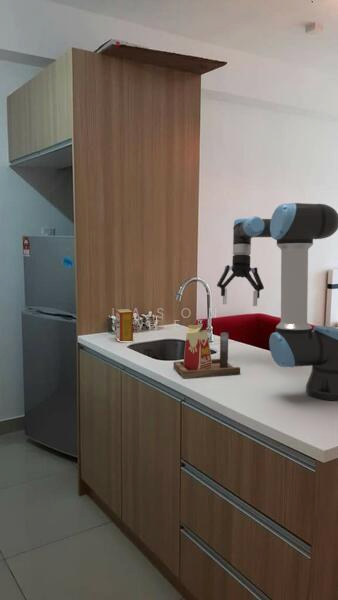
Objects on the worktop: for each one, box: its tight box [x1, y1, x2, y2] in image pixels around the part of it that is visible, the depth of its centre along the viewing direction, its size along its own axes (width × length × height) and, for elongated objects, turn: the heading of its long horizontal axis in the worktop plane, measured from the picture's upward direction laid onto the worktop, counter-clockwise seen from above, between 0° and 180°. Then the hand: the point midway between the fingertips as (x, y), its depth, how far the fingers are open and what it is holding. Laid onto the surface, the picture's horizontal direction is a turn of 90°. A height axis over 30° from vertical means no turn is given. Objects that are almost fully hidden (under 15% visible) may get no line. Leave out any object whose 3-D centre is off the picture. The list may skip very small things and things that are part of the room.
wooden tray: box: [173, 332, 241, 379], centre depth 193 cm, size 15×23×15 cm, turn 105°
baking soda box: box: [115, 308, 134, 342], centre depth 247 cm, size 10×6×16 cm
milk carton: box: [183, 323, 213, 370], centre depth 192 cm, size 9×9×20 cm
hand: (239, 305), depth 204 cm, fingers open, 13 cm apart
